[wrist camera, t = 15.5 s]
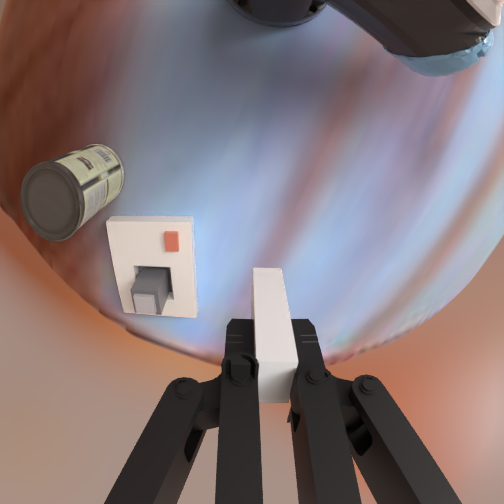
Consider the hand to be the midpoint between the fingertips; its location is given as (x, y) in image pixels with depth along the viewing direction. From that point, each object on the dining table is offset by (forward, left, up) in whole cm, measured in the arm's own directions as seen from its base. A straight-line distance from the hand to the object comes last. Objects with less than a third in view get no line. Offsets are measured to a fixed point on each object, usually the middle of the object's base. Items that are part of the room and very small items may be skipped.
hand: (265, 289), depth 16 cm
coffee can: (0, -25, -30) cm, 39 cm away
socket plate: (+16, -16, -29) cm, 37 cm away
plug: (+18, -16, -29) cm, 38 cm away
